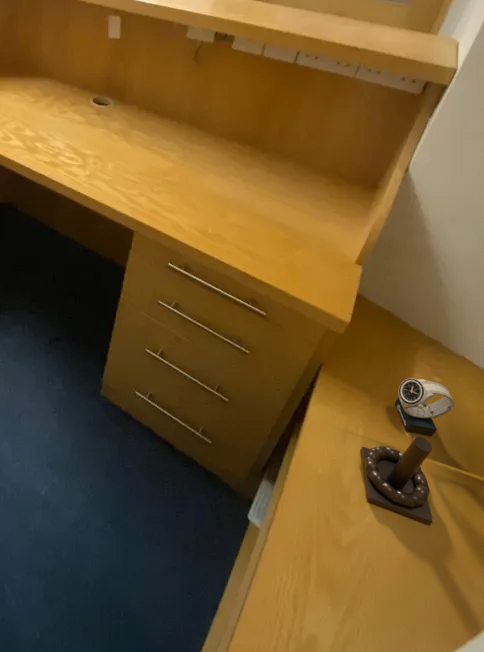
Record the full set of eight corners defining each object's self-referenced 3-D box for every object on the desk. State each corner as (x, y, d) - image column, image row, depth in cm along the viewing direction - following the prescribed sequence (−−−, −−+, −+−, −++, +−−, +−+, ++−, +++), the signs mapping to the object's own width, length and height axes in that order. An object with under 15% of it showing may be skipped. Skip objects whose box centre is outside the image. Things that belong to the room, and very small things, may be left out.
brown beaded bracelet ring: (417, 460, 90) (421, 454, 89) (433, 517, 82) (438, 511, 81) (359, 442, 92) (362, 437, 91) (369, 496, 85) (373, 491, 84)
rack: (418, 470, 89) (449, 428, 83) (430, 525, 82) (465, 484, 75) (360, 449, 92) (386, 407, 86) (367, 501, 85) (395, 459, 78)
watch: (382, 403, 100) (402, 369, 94) (427, 412, 98) (451, 377, 93) (392, 431, 95) (415, 397, 89) (440, 441, 94) (466, 406, 88)
